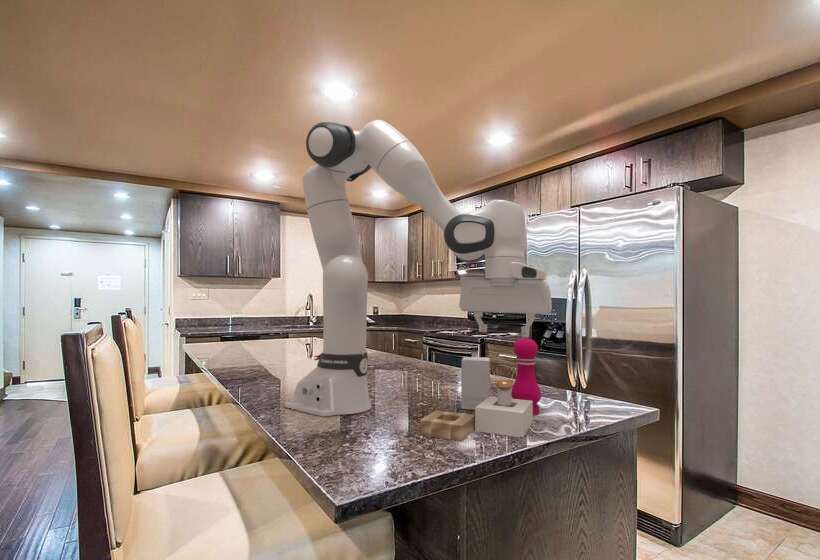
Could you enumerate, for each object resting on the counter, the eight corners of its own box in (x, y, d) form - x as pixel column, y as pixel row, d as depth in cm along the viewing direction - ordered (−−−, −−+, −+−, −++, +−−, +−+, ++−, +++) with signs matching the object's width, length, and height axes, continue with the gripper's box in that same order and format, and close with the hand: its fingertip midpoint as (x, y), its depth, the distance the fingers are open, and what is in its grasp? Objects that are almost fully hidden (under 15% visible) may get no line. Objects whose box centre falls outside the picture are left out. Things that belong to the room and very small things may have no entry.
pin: (494, 428, 92) (493, 382, 93) (497, 423, 96) (497, 379, 96) (511, 430, 91) (511, 383, 91) (514, 425, 94) (514, 380, 95)
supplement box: (489, 411, 107) (489, 360, 108) (460, 409, 109) (460, 359, 110) (490, 404, 115) (490, 357, 115) (462, 402, 116) (462, 356, 117)
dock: (475, 431, 90) (475, 407, 90) (489, 417, 101) (489, 396, 101) (523, 437, 86) (522, 412, 86) (532, 422, 97) (532, 400, 97)
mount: (420, 434, 87) (420, 420, 88) (436, 423, 96) (436, 410, 96) (461, 441, 84) (462, 425, 84) (475, 429, 92) (474, 415, 92)
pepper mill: (517, 407, 111) (517, 330, 112) (545, 411, 107) (544, 332, 108) (506, 413, 105) (506, 332, 106) (535, 417, 101) (534, 333, 102)
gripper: (456, 270, 97) (454, 331, 96) (549, 270, 88) (548, 337, 88) (464, 273, 103) (463, 330, 102) (553, 272, 94) (552, 335, 93)
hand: (503, 333), depth 95 cm, fingers open, 8 cm apart
